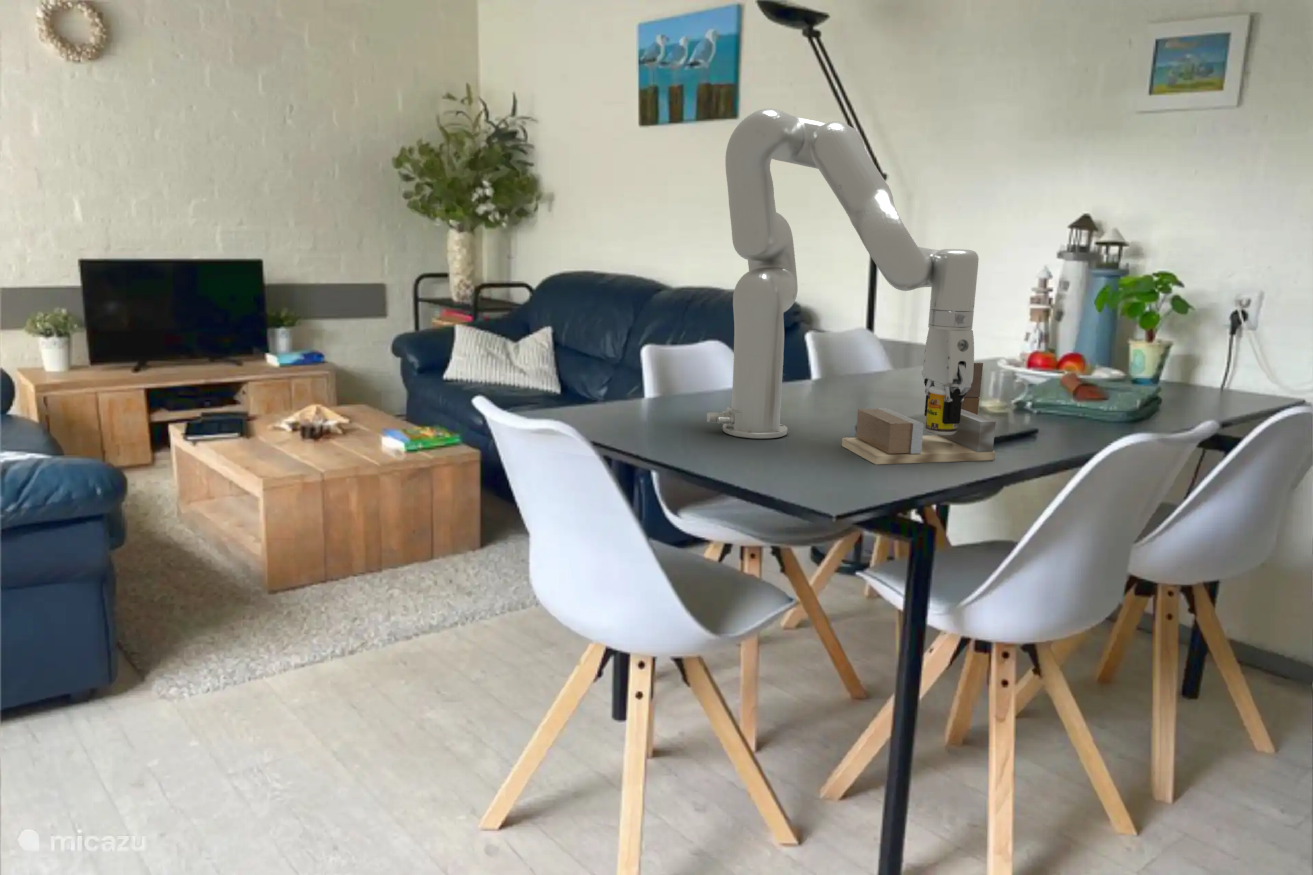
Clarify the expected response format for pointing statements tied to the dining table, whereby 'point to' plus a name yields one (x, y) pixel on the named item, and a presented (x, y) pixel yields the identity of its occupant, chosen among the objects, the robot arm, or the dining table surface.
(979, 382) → the wooden block
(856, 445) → the vise bed
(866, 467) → the dining table surface
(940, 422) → the supplement bottle
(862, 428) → the block
